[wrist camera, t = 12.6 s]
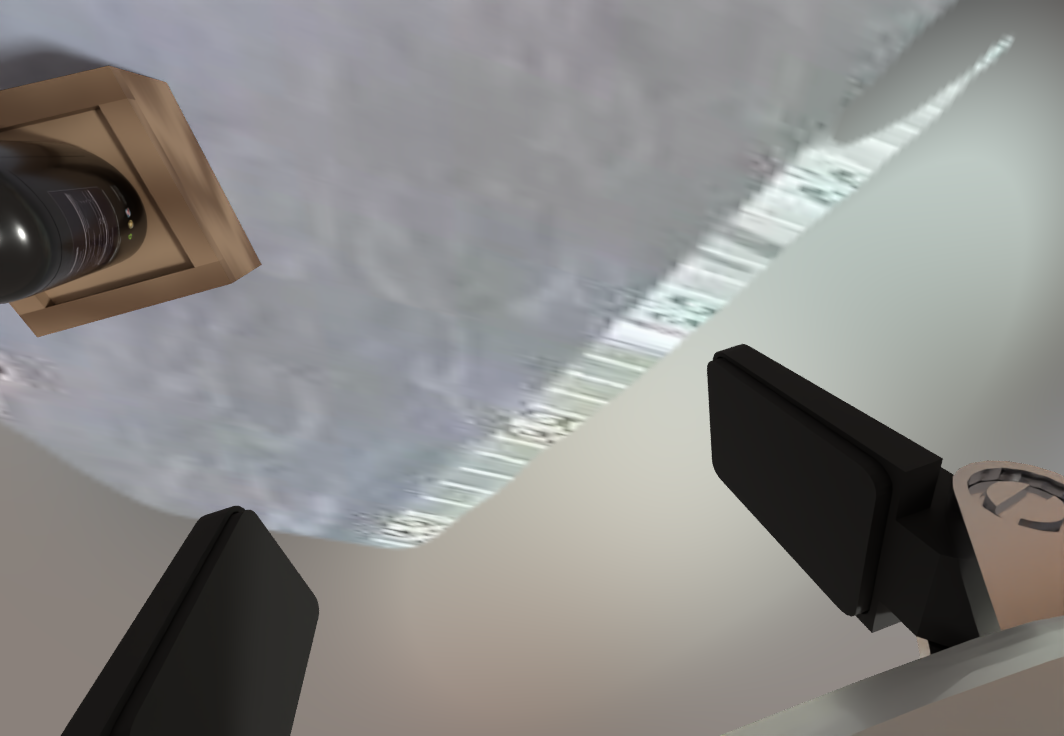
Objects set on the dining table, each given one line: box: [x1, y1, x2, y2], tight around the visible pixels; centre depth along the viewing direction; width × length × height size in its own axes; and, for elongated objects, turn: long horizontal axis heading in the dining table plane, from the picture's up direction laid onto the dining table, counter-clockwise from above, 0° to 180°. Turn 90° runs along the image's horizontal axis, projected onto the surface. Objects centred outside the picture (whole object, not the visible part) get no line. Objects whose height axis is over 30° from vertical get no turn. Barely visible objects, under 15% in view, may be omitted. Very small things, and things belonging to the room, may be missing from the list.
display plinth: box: [0, 66, 262, 337], centre depth 28 cm, size 12×12×6 cm
